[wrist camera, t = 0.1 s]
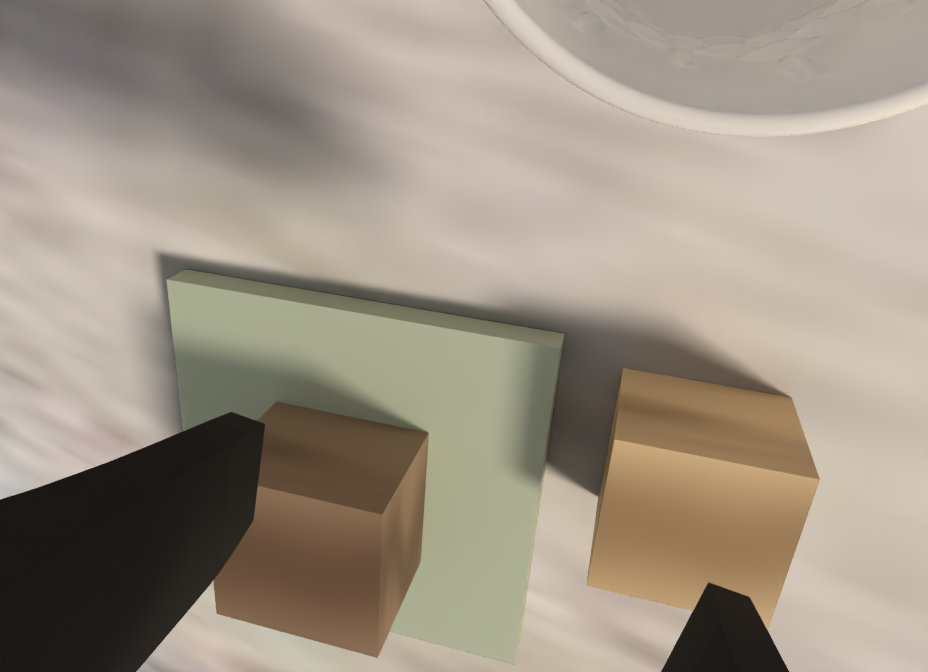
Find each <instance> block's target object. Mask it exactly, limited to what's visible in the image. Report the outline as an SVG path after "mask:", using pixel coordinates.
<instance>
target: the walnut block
mask: <svg viewBox="0 0 928 672" xmlns="http://www.w3.org/2000/svg"><path fill="white" fill-rule="evenodd" d="M257 421H259V422H261V423H264V424H265V431H264V439H263V447H262V455H261V464H260V472H259V480H258V488H257V496H256V505H255V513H254V521H253V522H252V524H251V525H250V527H249V528H248V530H247V532H246V533H245V535H244V536H243V538H242V540H241V541H240V543H239V544H238V546H237V547H236V549H235V550H234V552H233V553H232V555H231V556H230V558H229V559H228V561H227V562H226V564H225V565H224V567H223V568H222V570H221V571H220V573H219V574H218V575H217V576H216V578H215V579H214V590H215V600H216V611H217V614H220V615H223V616H227V617H231V618H234V619H238V620H242V621H245V622H249V623H253V624H256V625H260V626H263V627H267V628H271V629H274V630H278V631H282V632H285V633H289V634H293V635H296V636H300V637H304V638H307V639H311V640H314V641H318V642H322V643H325V644H329V645H333V646H336V647H340V648H344V649H347V650H351V651H355V652H358V653H362V654H365V655H369V656H373V657H376V658H378V656H379V653H380V651H381V649H382V647H383V644H384V642H385V640H386V638H387V636H388V633H389V631H390V629H391V627H392V624H393V622H394V620H395V618H396V616H397V613H398V611H399V609H400V607H401V605H402V602H403V600H404V598H405V596H406V593H407V591H408V589H409V587H410V585H411V582H412V580H413V578H414V576H415V573H416V571H417V569H418V567H419V565H420V562H421V551H422V535H423V519H424V503H425V487H426V471H427V455H428V440H429V433H427V432H423V431H418V430H413V429H408V428H403V427H398V426H393V425H389V424H384V423H379V422H374V421H369V420H364V419H359V418H354V417H350V416H345V415H340V414H335V413H330V412H325V411H320V410H316V409H311V408H306V407H301V406H296V405H291V404H286V403H282V402H277V401H276V402H275V403H274V404H273V405H272V406H271V407H270V408H269V409H268V410H267V411H266V412H265V413H264V414H263V415H262V416H261V417H260V418H259V419H258V420H257Z"/></svg>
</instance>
